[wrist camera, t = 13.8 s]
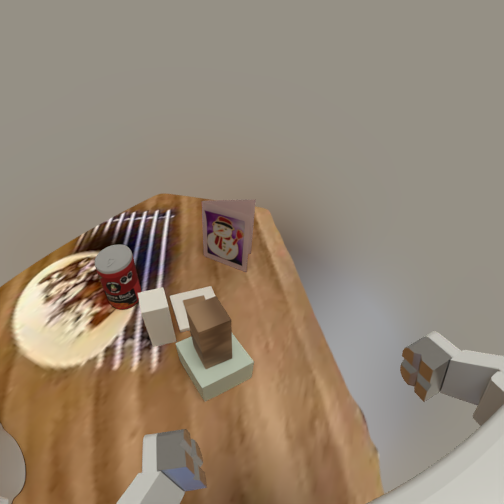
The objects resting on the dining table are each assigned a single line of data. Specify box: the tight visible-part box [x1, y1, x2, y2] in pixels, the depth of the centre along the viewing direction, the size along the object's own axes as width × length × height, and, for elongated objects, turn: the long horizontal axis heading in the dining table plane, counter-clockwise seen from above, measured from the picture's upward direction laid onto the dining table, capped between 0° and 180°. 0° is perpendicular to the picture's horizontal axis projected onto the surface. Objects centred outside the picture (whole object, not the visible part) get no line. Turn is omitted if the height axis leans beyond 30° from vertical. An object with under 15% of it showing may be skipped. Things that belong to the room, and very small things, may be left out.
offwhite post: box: [138, 287, 176, 347], centre depth 48 cm, size 4×4×10 cm
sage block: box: [176, 334, 254, 401], centre depth 45 cm, size 9×9×6 cm
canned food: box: [95, 245, 141, 309], centre depth 54 cm, size 8×8×11 cm
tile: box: [170, 286, 215, 332], centre depth 56 cm, size 9×9×1 cm
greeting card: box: [202, 200, 255, 272], centre depth 65 cm, size 11×7×15 cm, turn 64°
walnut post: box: [185, 296, 232, 369], centre depth 40 cm, size 4×4×10 cm
